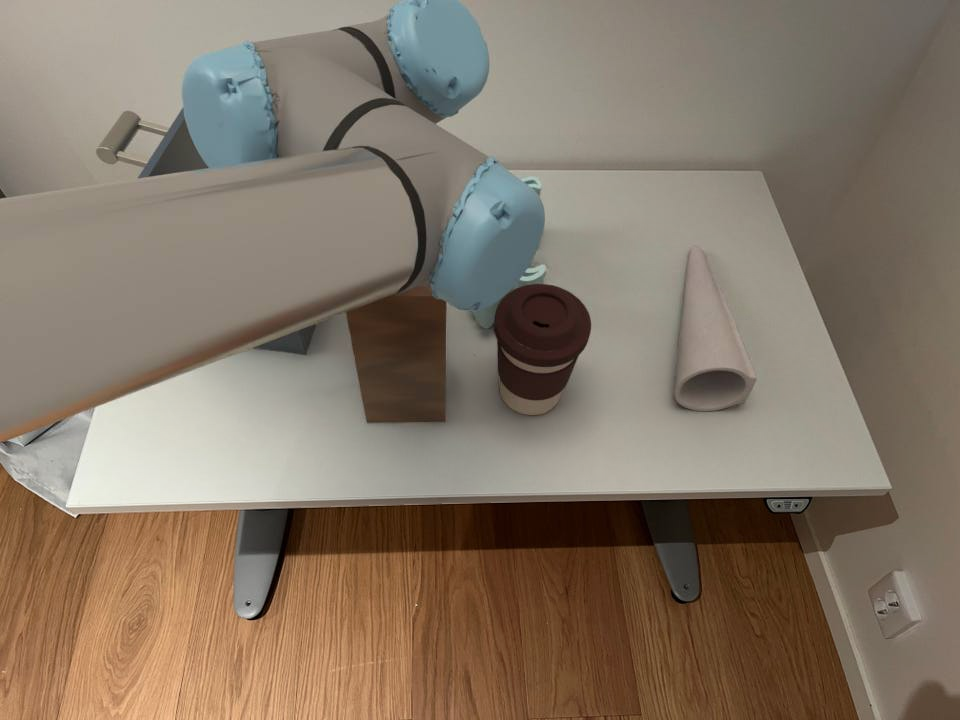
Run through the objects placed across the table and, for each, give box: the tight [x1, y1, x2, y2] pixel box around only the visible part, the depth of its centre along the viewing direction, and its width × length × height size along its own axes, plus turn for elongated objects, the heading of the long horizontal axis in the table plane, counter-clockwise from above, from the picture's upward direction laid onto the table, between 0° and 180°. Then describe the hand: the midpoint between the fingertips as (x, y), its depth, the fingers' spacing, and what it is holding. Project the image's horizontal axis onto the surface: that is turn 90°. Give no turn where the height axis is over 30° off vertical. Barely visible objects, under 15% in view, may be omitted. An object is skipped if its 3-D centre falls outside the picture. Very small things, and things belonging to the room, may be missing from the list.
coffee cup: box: [493, 283, 592, 416], centre depth 74 cm, size 10×10×15 cm
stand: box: [345, 286, 447, 424], centre depth 71 cm, size 9×9×22 cm
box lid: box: [95, 107, 209, 179], centre depth 72 cm, size 15×15×7 cm
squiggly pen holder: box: [472, 175, 547, 329], centre depth 87 cm, size 18×10×9 cm, turn 6°
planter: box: [673, 244, 758, 412], centre depth 86 cm, size 8×9×26 cm
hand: (241, 200), depth 72 cm, fingers open, 13 cm apart
